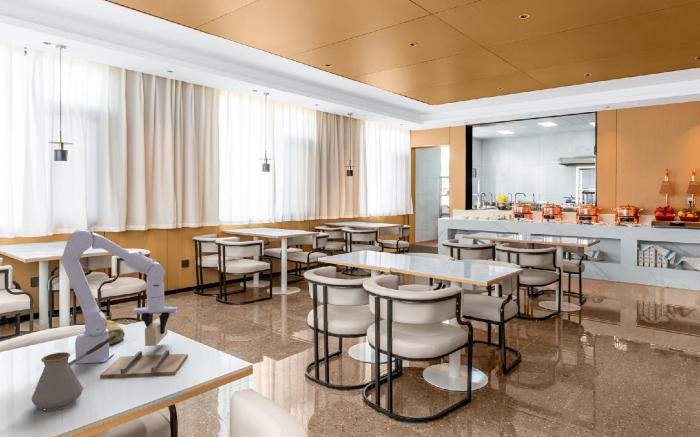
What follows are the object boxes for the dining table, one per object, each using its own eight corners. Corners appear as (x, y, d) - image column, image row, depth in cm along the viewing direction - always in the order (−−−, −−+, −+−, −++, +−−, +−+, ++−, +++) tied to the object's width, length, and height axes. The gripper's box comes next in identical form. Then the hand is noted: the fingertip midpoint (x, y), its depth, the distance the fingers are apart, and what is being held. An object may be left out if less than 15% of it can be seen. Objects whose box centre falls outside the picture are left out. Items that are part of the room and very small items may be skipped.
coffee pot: (38, 419, 111) (34, 360, 110) (27, 404, 119) (24, 349, 118) (127, 390, 126) (125, 338, 125) (113, 379, 134) (111, 330, 133)
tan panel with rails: (100, 378, 135) (99, 370, 135) (120, 359, 150) (120, 352, 150) (175, 374, 137) (174, 366, 137) (187, 356, 152) (187, 349, 152)
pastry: (96, 336, 175) (95, 316, 174) (130, 334, 176) (129, 314, 176) (79, 349, 161) (78, 327, 160) (116, 347, 162) (115, 325, 162)
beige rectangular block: (145, 346, 153) (144, 328, 153) (157, 333, 166) (157, 318, 166) (155, 345, 154) (155, 328, 153) (167, 333, 166) (167, 317, 166)
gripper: (179, 293, 164) (180, 329, 164) (138, 294, 162) (139, 330, 163) (174, 297, 157) (175, 335, 157) (131, 298, 155) (132, 337, 156)
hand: (156, 333), depth 160 cm, fingers closed on beige rectangular block, 3 cm apart
